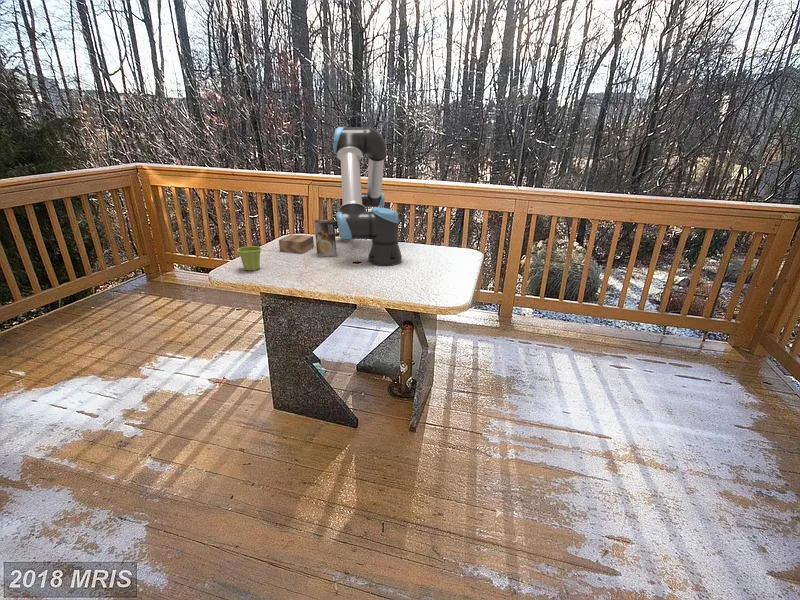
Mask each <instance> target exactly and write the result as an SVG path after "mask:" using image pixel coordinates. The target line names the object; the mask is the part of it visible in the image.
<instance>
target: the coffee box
mask: <svg viewBox="0 0 800 600" xmlns="http://www.w3.org/2000/svg"><path fill="white" fill-rule="evenodd" d="M313 222H314V223H313V224H314V233H315V234H314V235H315V247H316V257H318V258H319V257H320V258H321V257H337V247H336V246H337V245H336V244H337V242H336V229H335V226H334V222H335V219H314V221H313Z"/></svg>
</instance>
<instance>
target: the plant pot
mask: <svg viewBox="0 0 800 600" xmlns="http://www.w3.org/2000/svg"><path fill="white" fill-rule="evenodd" d="M236 251H237V252H238V255H240V259H241V262H242V265H243V269H245V270H244V271H246V270H248V271H249V272H250V271H251V270H254V271H258V270H259V269H260V268H261V267H260V265H261V264H260V262H261V261H260V259H261V251H262V247H260V246H254V245H253V246H252V245H248V246H242V247H238V248H237V249H236ZM257 269H258V270H257ZM251 272H252V271H251Z"/></svg>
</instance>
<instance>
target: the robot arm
mask: <svg viewBox="0 0 800 600" xmlns="http://www.w3.org/2000/svg"><path fill="white" fill-rule="evenodd" d="M333 154H335V155H336V157H337V158H338V160H339V161H340V173H341V174H340V176H341V179H340V180H341V195H342V196H341V197H342V198H341V199H342V200H341V201H342V204H341V206H340V207H339V211H337V212H336V213H335V215H336V221H335V220H334V226H335V230H336V229H338V234H339V237H340V238H341V239H343V240H344V239H345V240H364V239H367V240H368V239H371V247H370V250H369V253H368V256H367V257H368V263H370V264H372V265H375V264H376V266H383V265H388V266H393V265H392V264H395V265H398V264H397V263H399V262H400V263H401V262H402V261H403V258H402V257H403V256H402V252H401V250H400V247H399V223H400V221H399V213H398V212H397V211H396V210H394V209H391V208H387V207H384V206H385V202H386V201H385V193H384V192H382V188H383V180H384V179H383V178H384V176H383V175H384V166H385V165H384V164H385V160H386V158H387V155H388V149H387V144H386V141H385V139H384V137H383V136H382V134H381V133H380V132H378V131H377V130H376V129H374V128H372V127H369V126H367V127H361V126H360V127H355V126H352V127H351V126H339V127H336V128H335V130H334V135H333ZM363 155H366V157H367V158H368V167H367V168H368V170H367V192H362V180H361V178H362V177H361V163H360V161H361V159H362V158H363ZM366 208H371V210H370V211H367V209H366ZM400 263H399V264H400Z"/></svg>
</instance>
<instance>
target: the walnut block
mask: <svg viewBox="0 0 800 600" xmlns="http://www.w3.org/2000/svg"><path fill="white" fill-rule="evenodd" d="M314 242H315V241H314V236H313V235H302V234H293V233H292V234H288V235H287V236H285V237H282V238H280V239H278V247H279V253H289V254H298V255H299V254H301V255H303V254H305V253H307V252H308V250H309V251H310V250H312V249H314V248H315V243H314ZM313 247H314V248H313Z"/></svg>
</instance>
